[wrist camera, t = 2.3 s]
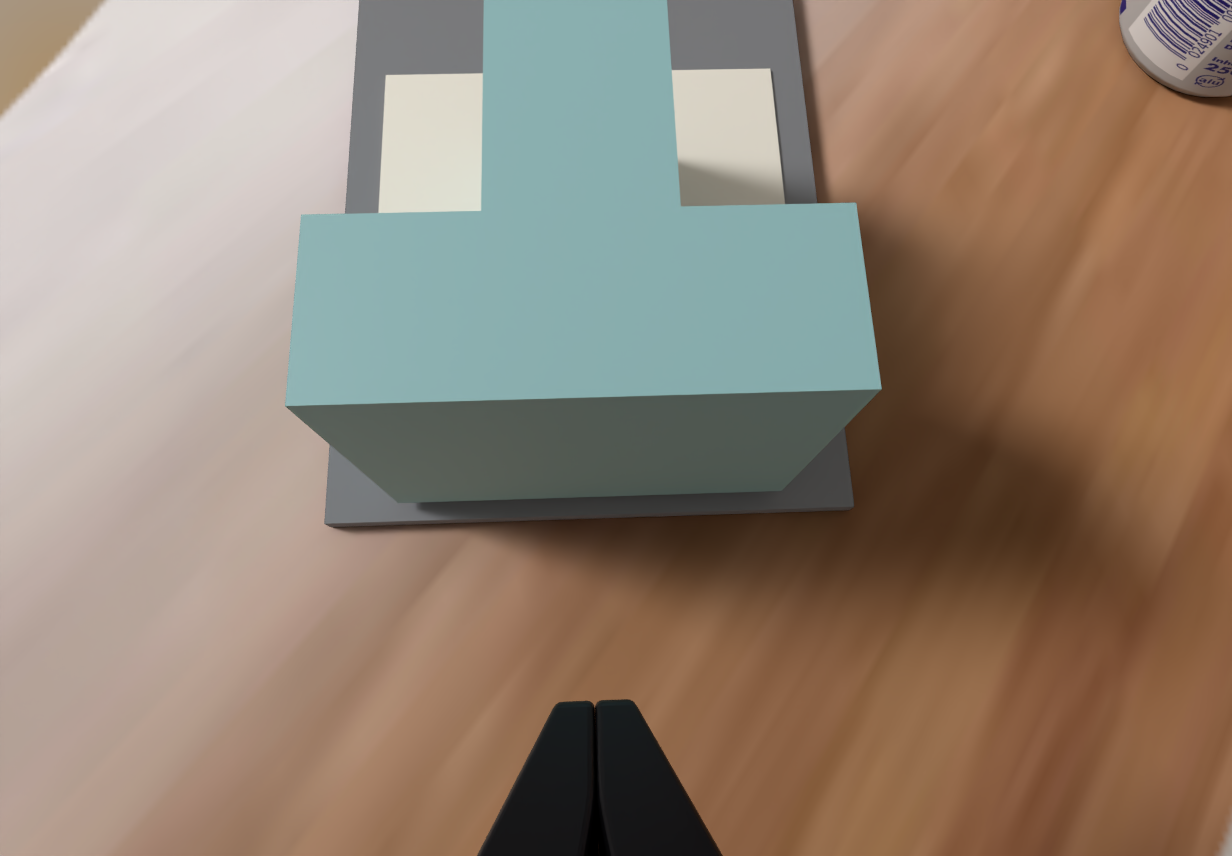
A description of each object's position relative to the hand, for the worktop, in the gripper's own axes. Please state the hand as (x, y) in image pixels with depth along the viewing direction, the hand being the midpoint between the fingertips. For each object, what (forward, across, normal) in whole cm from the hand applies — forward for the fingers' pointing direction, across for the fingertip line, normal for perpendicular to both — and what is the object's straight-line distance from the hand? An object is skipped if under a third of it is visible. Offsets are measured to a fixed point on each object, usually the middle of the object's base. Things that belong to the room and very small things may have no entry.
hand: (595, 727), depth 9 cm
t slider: (+16, 0, +1) cm, 16 cm away
